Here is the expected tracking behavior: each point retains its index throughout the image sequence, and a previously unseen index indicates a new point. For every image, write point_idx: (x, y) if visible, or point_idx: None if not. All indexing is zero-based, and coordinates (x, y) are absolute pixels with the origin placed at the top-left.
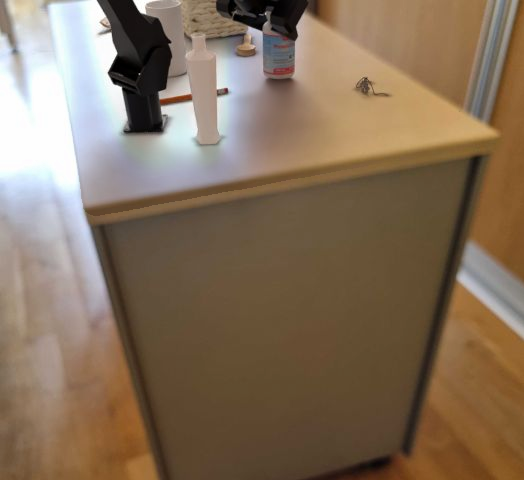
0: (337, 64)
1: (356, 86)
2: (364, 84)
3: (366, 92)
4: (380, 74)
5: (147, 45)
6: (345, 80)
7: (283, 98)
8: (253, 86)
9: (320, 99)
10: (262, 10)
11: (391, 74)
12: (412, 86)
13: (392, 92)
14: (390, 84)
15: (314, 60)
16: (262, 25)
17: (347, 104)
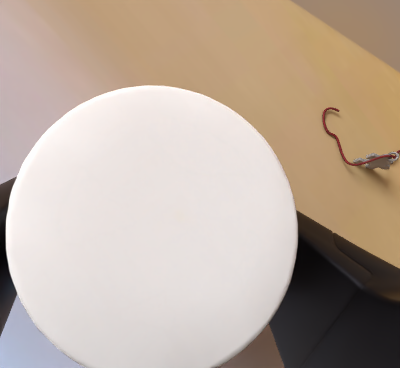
0: (182, 34)
1: (351, 164)
2: (377, 161)
3: (371, 168)
4: (307, 48)
5: None
6: (283, 126)
7: (270, 349)
8: None
9: None
10: None
11: (322, 37)
12: (392, 79)
13: (393, 130)
14: (361, 92)
15: (101, 34)
16: (6, 281)
17: (391, 251)
